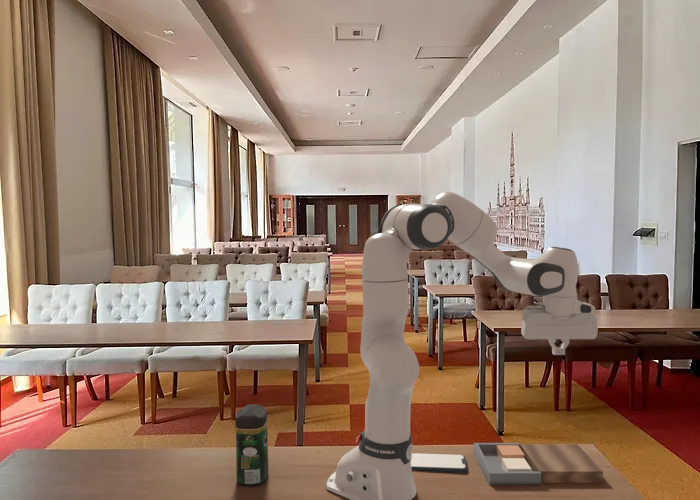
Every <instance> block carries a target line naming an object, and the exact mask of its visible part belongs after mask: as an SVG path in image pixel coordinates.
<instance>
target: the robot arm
mask: <svg viewBox="0 0 700 500" xmlns="http://www.w3.org/2000/svg"><path fill="white" fill-rule="evenodd" d="M497 228H498V227H497V223H495V220H493V219H492V217H491V216H489V214H488V213H486V212H485V211H484V210H483V209H481V208H480V207H479V206H478V205H476V204H475V203H474V202H471V200H468V199H466V198H465V197H463V196H461V195H460V194H457V193H455V192H454V191H443V192H440V193H439V194H437V195H436V196H435V197H433V199H432V200H431V202H430V203H429V204H428V203H427V204H424V203H423V204H421V203H416V202H415V203H414V202H412V203H405V204H397V205H394V206H392V207H390V208H389V209H387V211H386V212H385V213H384V214H383V217H382V219H381V222H380V225H379V228H378V230H377V233H376V234H373V235H371V236H369V237H368V239H366V241H365V243H364V248H363V254H362V263H361V264H362V265H361V269H362V270H361V281H362V282H361V283H362V286H361V287H362V321H361V322H362V323H361V333H360V334H361V336H360V349H359V350H360V351H359V352H360V357H361V361H362V363H363V365H364V366H365V367H366V368H367V369H368V370H367V371H368V374H369V384H368V385H369V386H368V393H367V398H366V400H365V404H364V406H365V407H364V410H365V411H364V412H365V413H364V420H365V421H364V422H365V424H364V425H365V426H364V429H363V431H362V432H359V434H358V436H357V437H356V438H355V440H356V441H355V444H357V443H358V444H359V445H357V446H356V447H354V448H352V449H350V450H349V451H348V452H346V453H345V454H344V455H342V457H341V458H340V459H339V461H338V463H337V466H336V470H335V471H334V472H333V473H331V475H330V476H329V477H328V479H327V481H326V490H327V491H330V492H332V493H335V494H336V495H339V496H341V497H343V498H346V499H348V500H413V499H414V498H415V497H416V495H417V487H416V484H415V480H414V475H413V470H412V466H411V458H412V453H413V435H412V434H411V406H412V405H411V404H412V403H411V402H412V397H413V393H414V387H415V383H416V381H417V380H418V378H419V374H420V364H419V361H418V359H417V356H416V355H417V354H415V351H414V350H413V349H412V348H411V347H410V346H409V345H408V344H407V343H406V342H405V326H406V321H407V316H408V315H409V310H410V305H409V303H410V301H409V300H410V299H409V298H410V297H409V275H408V274H409V273H408V262H409V257H410V254H411V252H412V251H413V250H424V251H428V250H434V249H436V248H439V247H440V246H442V245H443V244H445V243H446V241H447V240H448V241H449V242H451V243H452V244H453V245H455V246H456V247H457V248H459V249H461V250H462V251H464V252H465V253H467V254H469V255H470V256H471V257H472V258H474V260H475V261H477V262H478V263H479V264H480V265H482V266H483V267H484V268H485V269H487V270H488V272H489V273H490V274H491V275H492V277H493V278H494V280H495V282H496V283H497V285H498V287H500V288H501V289H502V290H503V291H504V292H505V291H506V292H508V293H519V294H523V295H529V296H533V297H542V305H537V304H536V305H527V306H525V307H524V308H523V309H522V310H521V319H522V322H521V329H520V330H521V331H520V333H521V336H522V337H523V338H525V339H526V340H547V341H548V343H549V345H550V347H551V353H552V355H554V356H561V355H562V356H565V355H566V348H567V347H568V346H569V344H570V340H595V339H596V338H597V336H598V335H599V334H598V333H599V332H598V331H599V328H598V327H599V326H598V319H597V317H596V315H595V314H594V313H595V312H596V307H595V306H594V305H592V304H591V303H588V302H585V301H583V300H581V299H578V292H577V282H578V276H579V275H578V273H579V272H578V271H579V270H578V269H579V268H578V259H577V254H576V252H575V251H573V250H572V249H570V248H565V247H560V246H549V247H546V250H545V251H544V252H543V253H542V254H541V255H539V256H537V257H535V258H533V259H528V258H522V257H521V258H520V257H516V256H511V255H507V254H505V253H504V252H503V251H502V250H500V248H498V247H497V245H495V244H494V243H495V241H496V239H497V235H498V229H497ZM557 340H561V341H560V342H562V343H561V345H560V346H556V343H557Z"/></svg>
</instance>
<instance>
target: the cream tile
mask: <svg viewBox="0 0 700 500" xmlns="http://www.w3.org/2000/svg"><path fill="white" fill-rule="evenodd" d="M502 469H503V471H531V468H530V466H529V465H528V463H527V462H526V460H525V459H524V458H502Z"/></svg>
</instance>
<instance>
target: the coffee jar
mask: <svg viewBox="0 0 700 500" xmlns="http://www.w3.org/2000/svg"><path fill="white" fill-rule="evenodd" d="M234 418H235V419H234V420H235V421H234V423H235V426H234V428H235V446H236V447H235V448H236V450H235V451H236V452H235V453H236V456H235V459H236V481H237V483H238V484H240V485H244V486H250V487H251V486H256V485H259V484H263V483H264V482H265V481H266V480H267V477H268V474H269V448H268V444H269V443H268V442H269V441H268V412H267V408H266V407H264V406H263V405H262V404H246V405H245V406H243V407H242V408H240V409H238V411H237V413H236V415H235V417H234Z"/></svg>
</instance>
